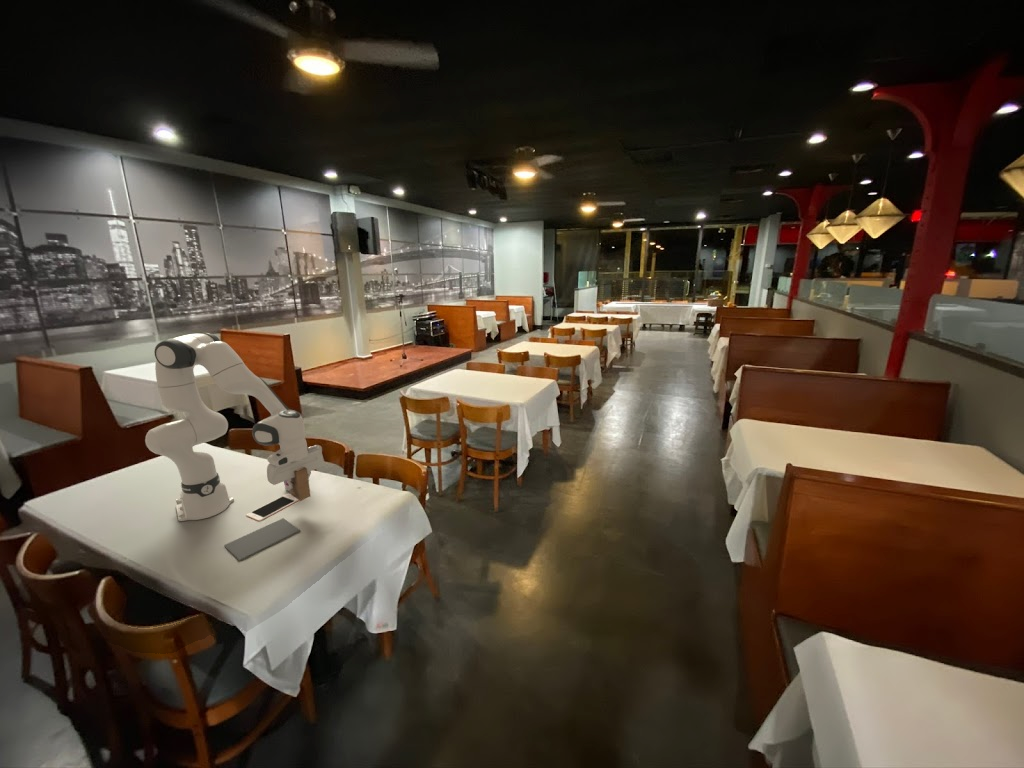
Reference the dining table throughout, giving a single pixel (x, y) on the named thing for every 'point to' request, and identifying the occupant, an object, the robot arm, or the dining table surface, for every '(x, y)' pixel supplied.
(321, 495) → the dining table surface
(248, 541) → the rubber mat
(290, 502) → the cell phone
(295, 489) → the walnut block
